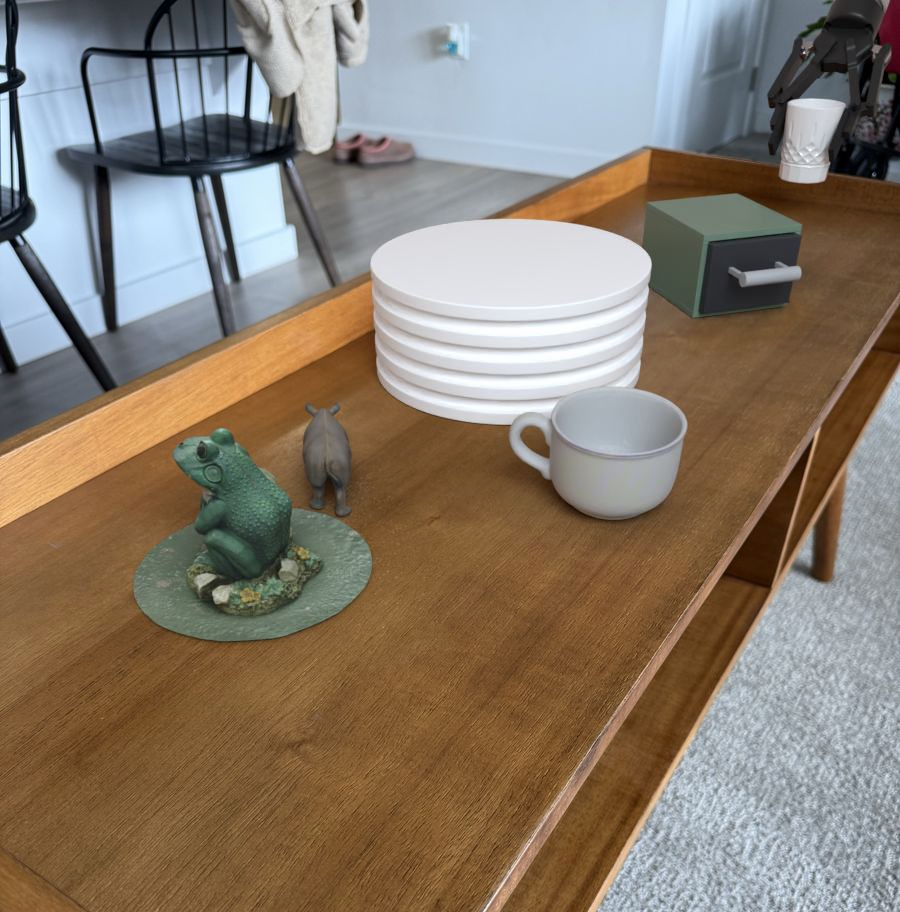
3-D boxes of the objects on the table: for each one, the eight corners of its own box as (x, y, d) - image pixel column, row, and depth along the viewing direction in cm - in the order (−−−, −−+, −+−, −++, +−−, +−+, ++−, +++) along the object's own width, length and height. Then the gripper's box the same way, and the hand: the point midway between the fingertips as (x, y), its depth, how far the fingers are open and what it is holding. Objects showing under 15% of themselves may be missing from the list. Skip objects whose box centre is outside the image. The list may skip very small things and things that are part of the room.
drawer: (809, 315, 112) (824, 246, 107) (721, 326, 109) (733, 257, 104) (731, 268, 125) (741, 205, 121) (651, 277, 123) (658, 214, 118)
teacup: (683, 480, 83) (696, 395, 79) (663, 547, 75) (677, 455, 70) (528, 457, 87) (531, 374, 82) (493, 518, 79) (494, 429, 74)
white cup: (837, 184, 139) (853, 108, 133) (782, 185, 139) (796, 108, 133) (821, 171, 145) (836, 98, 139) (768, 172, 145) (781, 98, 139)
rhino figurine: (347, 440, 90) (342, 380, 87) (359, 517, 79) (353, 452, 76) (303, 443, 90) (296, 383, 86) (308, 521, 79) (301, 456, 75)
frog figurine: (221, 491, 83) (198, 364, 76) (410, 534, 77) (404, 401, 70) (82, 607, 70) (39, 466, 63) (297, 670, 64) (276, 522, 57)
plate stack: (434, 307, 118) (432, 209, 111) (662, 335, 110) (675, 231, 103) (331, 400, 97) (321, 287, 90) (604, 444, 89) (615, 323, 82)
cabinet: (786, 306, 117) (802, 224, 111) (692, 318, 114) (704, 235, 108) (725, 269, 128) (737, 193, 122) (638, 279, 125) (646, 202, 119)
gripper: (783, -13, 140) (727, 128, 139) (935, -8, 131) (875, 143, 129) (788, 26, 147) (734, 160, 145) (932, 33, 137) (875, 177, 136)
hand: (800, 152), depth 137 cm, fingers closed on white cup, 8 cm apart
